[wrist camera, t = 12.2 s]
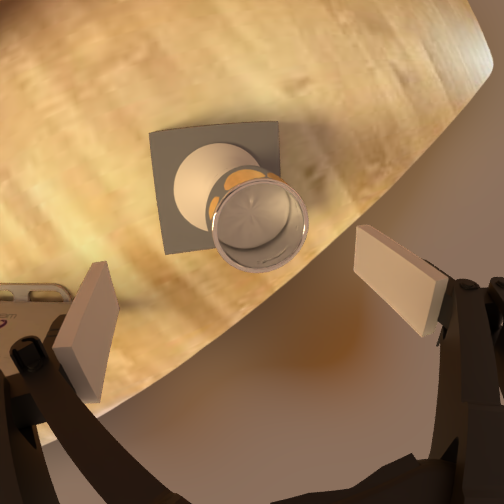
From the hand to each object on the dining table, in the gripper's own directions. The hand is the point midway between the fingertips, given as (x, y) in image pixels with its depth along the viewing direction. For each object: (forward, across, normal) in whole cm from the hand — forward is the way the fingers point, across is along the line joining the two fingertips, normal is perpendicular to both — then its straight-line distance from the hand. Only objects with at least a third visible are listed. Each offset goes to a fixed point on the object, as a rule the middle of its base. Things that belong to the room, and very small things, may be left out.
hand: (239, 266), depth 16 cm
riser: (+28, +1, 0) cm, 29 cm away
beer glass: (+20, +2, 0) cm, 20 cm away
